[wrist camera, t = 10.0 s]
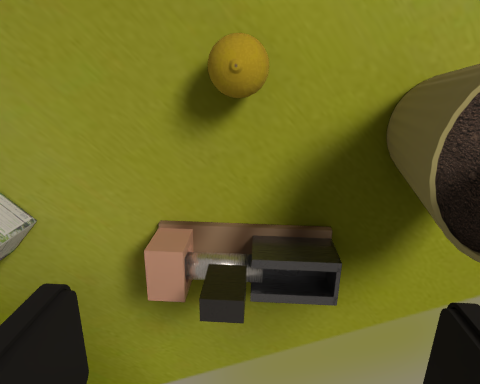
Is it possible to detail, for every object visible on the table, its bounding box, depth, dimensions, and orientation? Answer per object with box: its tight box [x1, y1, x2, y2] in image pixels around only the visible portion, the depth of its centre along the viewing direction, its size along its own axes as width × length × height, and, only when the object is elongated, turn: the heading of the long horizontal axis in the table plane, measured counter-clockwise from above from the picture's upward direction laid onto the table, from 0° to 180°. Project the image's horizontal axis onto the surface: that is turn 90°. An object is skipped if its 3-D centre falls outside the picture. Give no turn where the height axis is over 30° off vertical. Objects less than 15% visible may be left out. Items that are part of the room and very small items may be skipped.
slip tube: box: [185, 252, 263, 323], centre depth 36 cm, size 11×3×9 cm, turn 89°
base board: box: [159, 221, 332, 254], centre depth 42 cm, size 20×7×1 cm, turn 89°
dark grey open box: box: [251, 235, 342, 305], centre depth 38 cm, size 9×5×6 cm, turn 89°
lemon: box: [208, 33, 269, 98], centre depth 32 cm, size 6×6×8 cm
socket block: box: [144, 228, 193, 302], centre depth 39 cm, size 4×6×6 cm, turn 179°
